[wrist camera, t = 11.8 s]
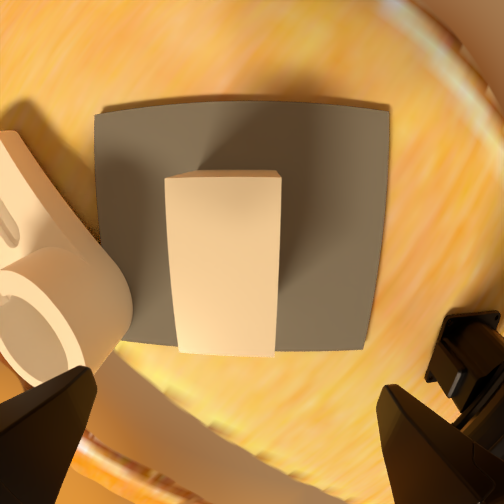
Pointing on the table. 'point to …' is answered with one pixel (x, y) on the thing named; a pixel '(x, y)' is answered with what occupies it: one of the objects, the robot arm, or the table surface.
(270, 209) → the card deck box
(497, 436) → the robot arm
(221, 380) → the table surface
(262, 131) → the grey rubber mat
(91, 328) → the bracket
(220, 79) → the table surface
